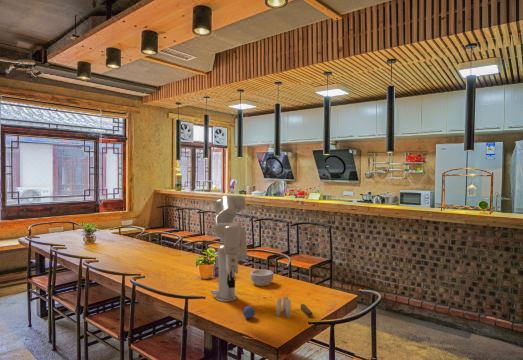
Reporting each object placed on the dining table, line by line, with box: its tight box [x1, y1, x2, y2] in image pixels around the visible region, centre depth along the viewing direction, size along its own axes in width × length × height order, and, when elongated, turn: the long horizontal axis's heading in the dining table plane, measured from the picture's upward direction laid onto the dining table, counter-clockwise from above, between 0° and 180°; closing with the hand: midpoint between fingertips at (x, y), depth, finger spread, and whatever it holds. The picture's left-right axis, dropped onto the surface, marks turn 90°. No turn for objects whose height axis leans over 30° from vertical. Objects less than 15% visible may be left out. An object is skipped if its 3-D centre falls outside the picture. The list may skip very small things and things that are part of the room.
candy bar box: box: [212, 251, 219, 278], centre depth 253 cm, size 11×5×16 cm, turn 138°
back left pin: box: [282, 295, 289, 315], centre depth 186 cm, size 2×2×9 cm
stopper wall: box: [300, 303, 313, 319], centre depth 186 cm, size 2×12×2 cm, turn 14°
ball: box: [242, 305, 256, 320], centre depth 179 cm, size 6×6×6 cm
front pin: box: [276, 297, 282, 317], centre depth 183 cm, size 2×2×9 cm
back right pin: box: [285, 299, 292, 319], centre depth 181 cm, size 2×2×9 cm
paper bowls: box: [250, 269, 274, 287], centre depth 233 cm, size 15×15×8 cm
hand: (231, 285), depth 176 cm, fingers open, 3 cm apart
